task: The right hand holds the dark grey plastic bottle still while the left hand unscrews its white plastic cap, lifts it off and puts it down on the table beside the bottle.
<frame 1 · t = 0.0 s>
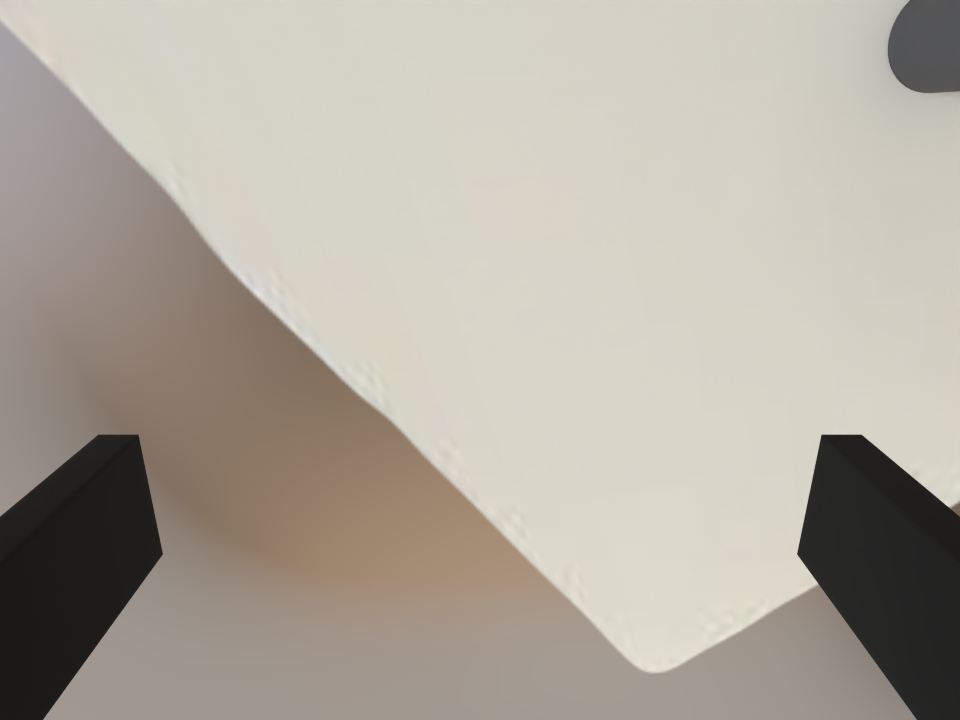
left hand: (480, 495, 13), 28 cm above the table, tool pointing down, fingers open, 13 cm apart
bottle: (938, 38, 35), on the table
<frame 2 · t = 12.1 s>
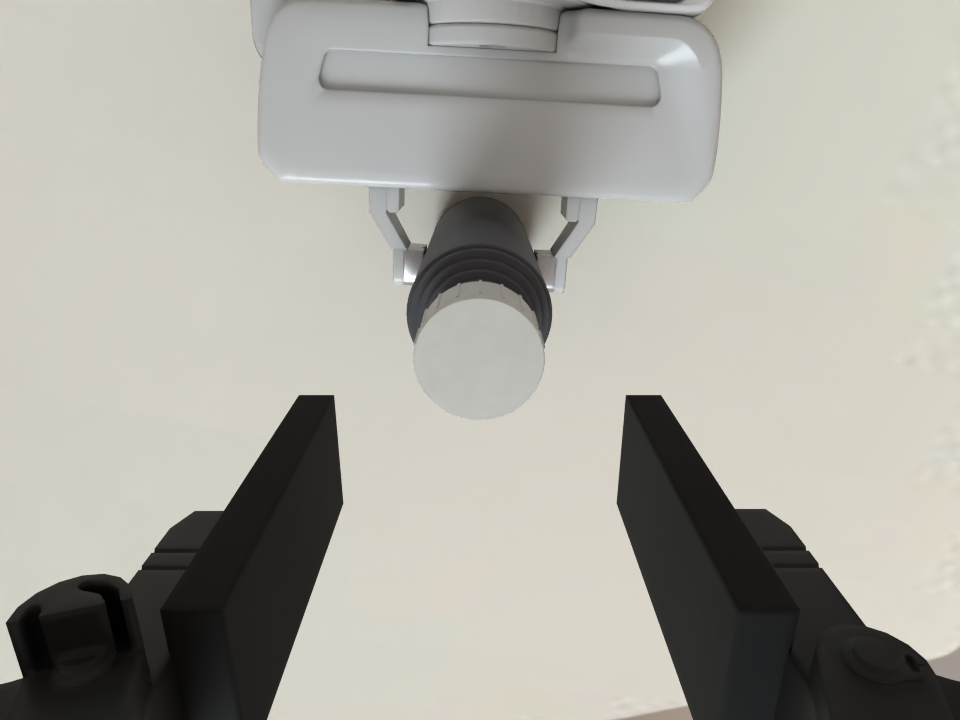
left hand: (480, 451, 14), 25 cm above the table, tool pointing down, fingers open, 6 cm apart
right hand: (479, 286, 32), fingers closed on bottle, 5 cm apart
bottle: (479, 245, 38), on the table, touching right hand
cap: (479, 358, 20), point 19 cm above the table, screwed on, not yet turned
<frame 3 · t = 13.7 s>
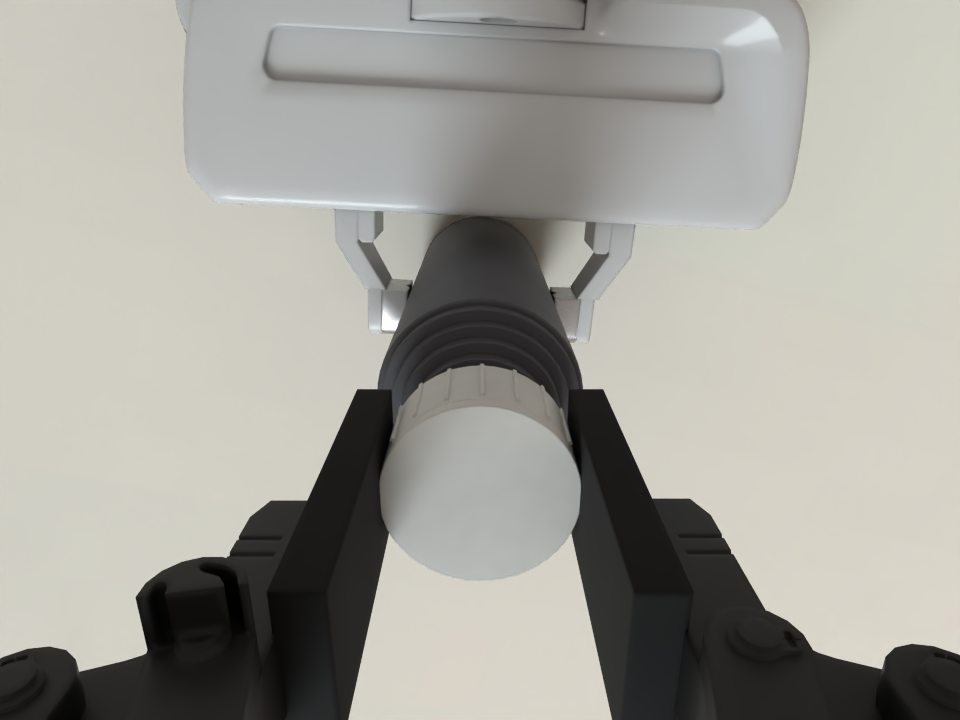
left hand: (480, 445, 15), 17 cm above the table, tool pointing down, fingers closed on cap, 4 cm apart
right hand: (480, 334, 25), fingers closed on bottle, 5 cm apart
bottle: (480, 275, 30), on the table, touching right hand
cap: (480, 490, 13), point 19 cm above the table, screwed on, not yet turned, touching left hand
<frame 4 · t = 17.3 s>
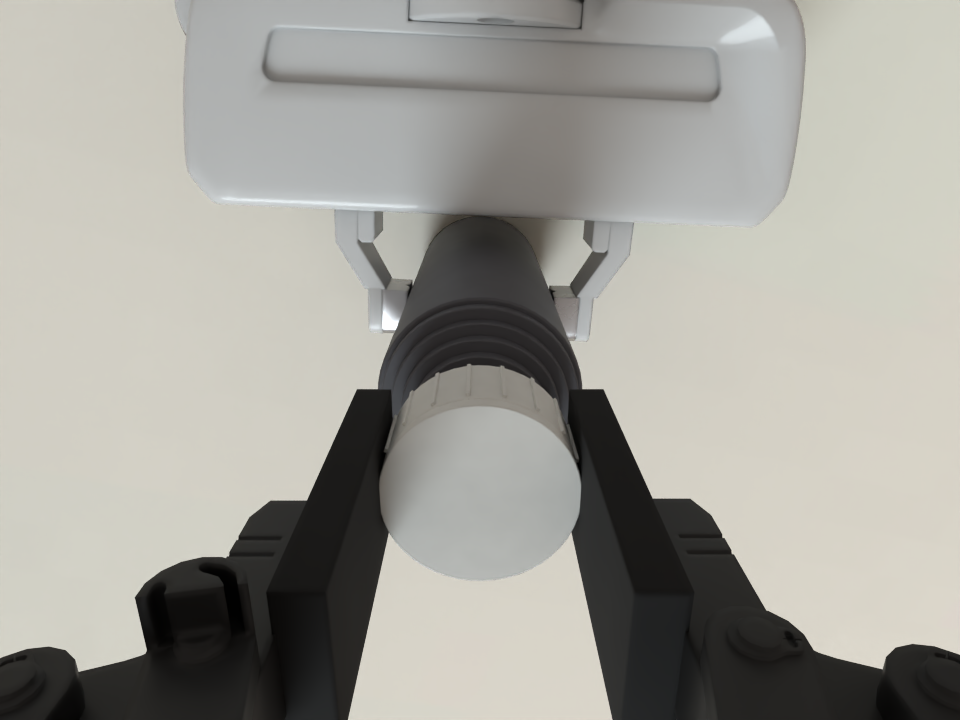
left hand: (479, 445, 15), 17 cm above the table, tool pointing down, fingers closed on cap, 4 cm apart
right hand: (480, 333, 25), fingers closed on bottle, 5 cm apart
bottle: (480, 274, 31), on the table, touching right hand
cap: (480, 489, 13), point 19 cm above the table, turned 107° so far, risen 0.1 cm, still on its thread, touching left hand
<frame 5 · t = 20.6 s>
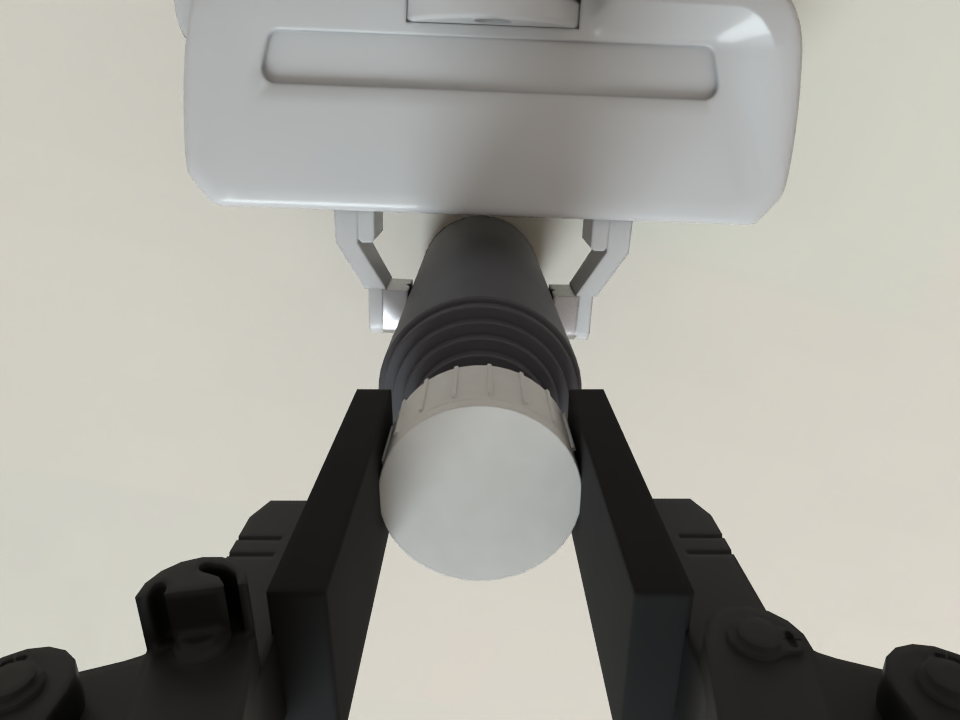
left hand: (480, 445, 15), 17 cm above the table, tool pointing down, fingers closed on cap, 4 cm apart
right hand: (480, 332, 25), fingers closed on bottle, 5 cm apart
bottle: (480, 274, 31), on the table, touching right hand
cap: (480, 489, 13), point 19 cm above the table, turned 215° so far, risen 0.2 cm, still on its thread, touching left hand
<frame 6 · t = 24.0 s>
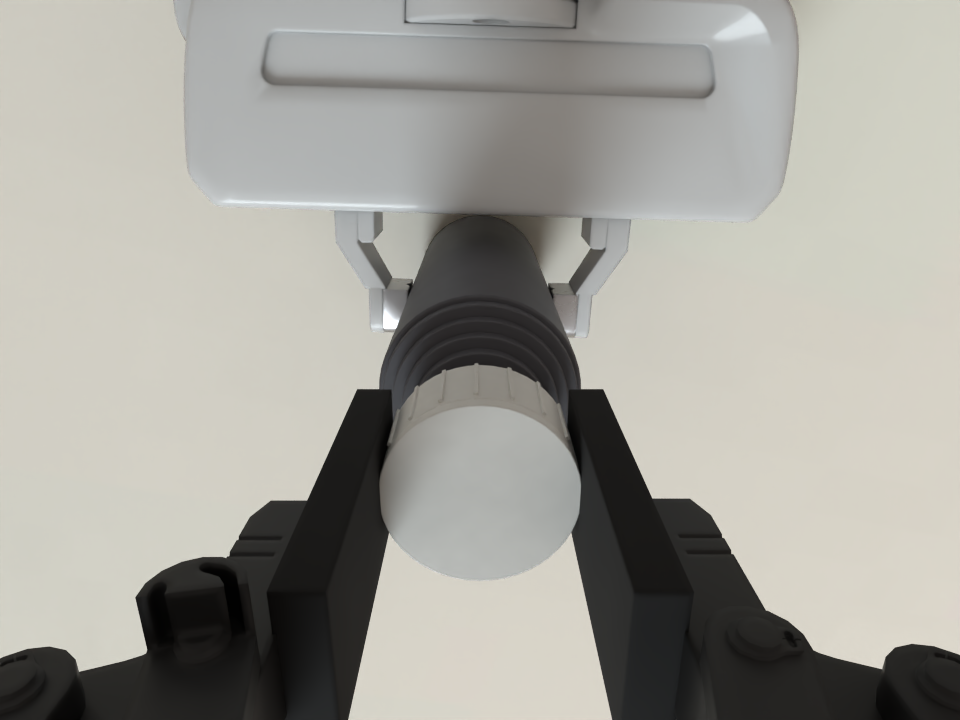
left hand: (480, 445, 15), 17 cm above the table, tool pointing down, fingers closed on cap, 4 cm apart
right hand: (480, 331, 25), fingers closed on bottle, 5 cm apart
bottle: (479, 273, 31), on the table, touching right hand
cap: (480, 489, 13), point 19 cm above the table, turned 322° so far, risen 0.4 cm, still on its thread, touching left hand
when the left hand's fingers open (1 cm above the table, at t = 30.3 s): cap drops 1 cm, point 2 cm above the table.
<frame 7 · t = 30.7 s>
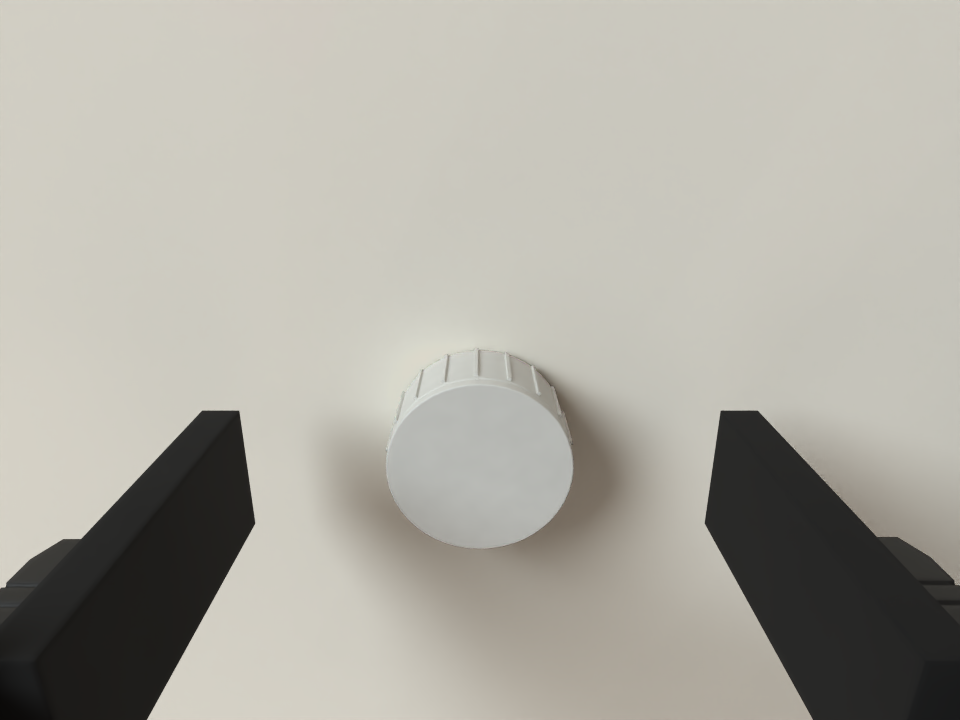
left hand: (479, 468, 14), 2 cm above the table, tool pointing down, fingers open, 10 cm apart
cap: (479, 464, 14), point 2 cm above the table, off its thread
when the right hand's fingers open (6 cm above the table, at t = 31.7 s): bottle stays where it is, on the table.
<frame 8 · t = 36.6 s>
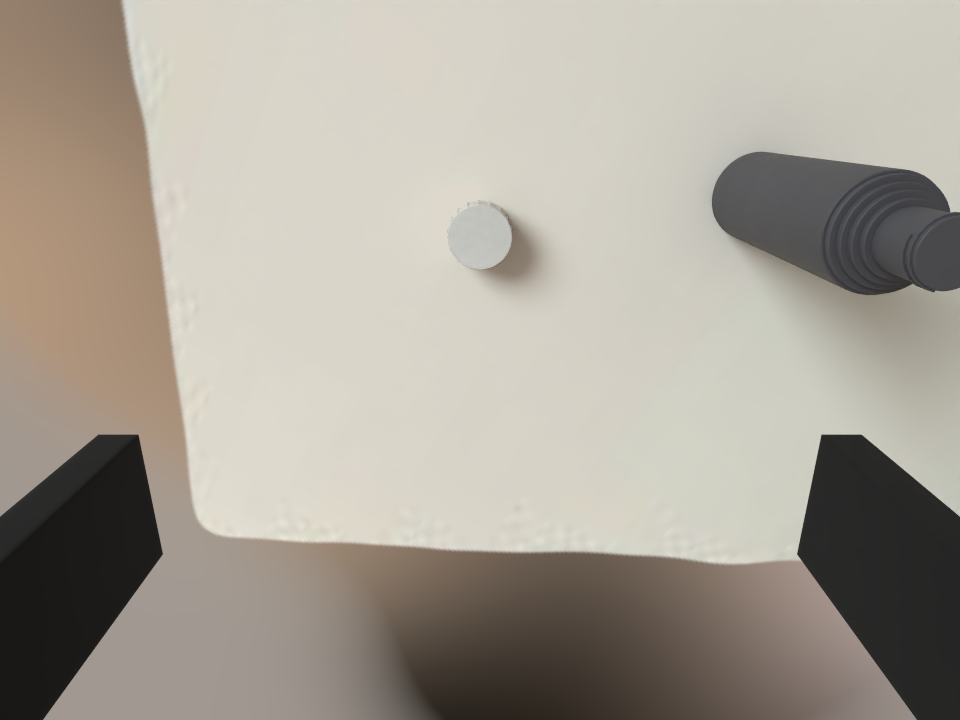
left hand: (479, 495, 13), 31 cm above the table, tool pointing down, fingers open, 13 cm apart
bottle: (754, 196, 41), on the table
cap: (479, 237, 40), point 2 cm above the table, off its thread
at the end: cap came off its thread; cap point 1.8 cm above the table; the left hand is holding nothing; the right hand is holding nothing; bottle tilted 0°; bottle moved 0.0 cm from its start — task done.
